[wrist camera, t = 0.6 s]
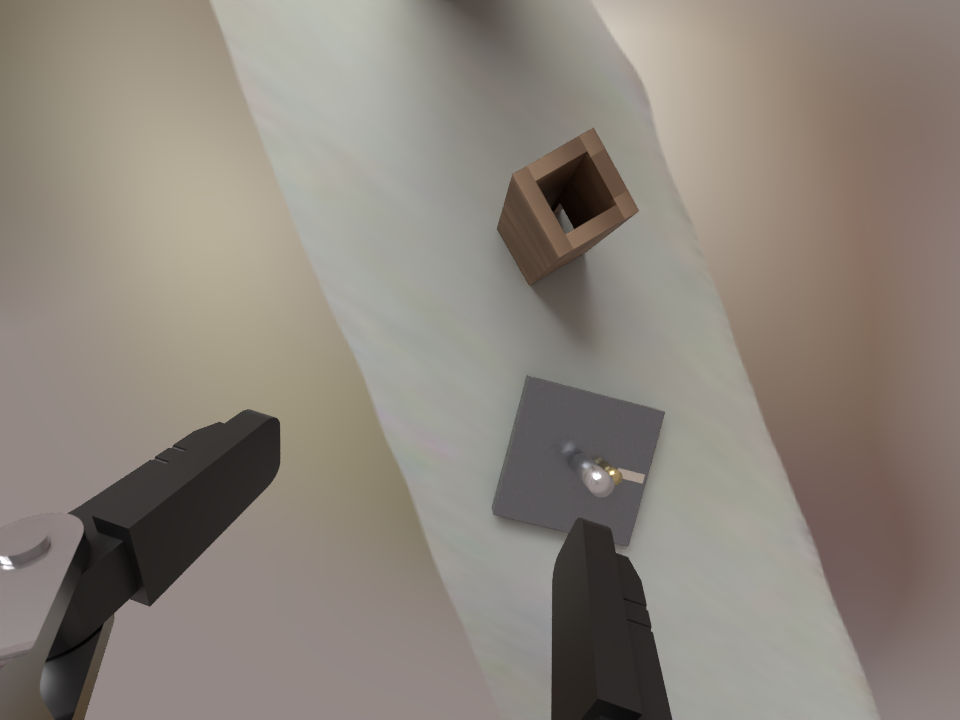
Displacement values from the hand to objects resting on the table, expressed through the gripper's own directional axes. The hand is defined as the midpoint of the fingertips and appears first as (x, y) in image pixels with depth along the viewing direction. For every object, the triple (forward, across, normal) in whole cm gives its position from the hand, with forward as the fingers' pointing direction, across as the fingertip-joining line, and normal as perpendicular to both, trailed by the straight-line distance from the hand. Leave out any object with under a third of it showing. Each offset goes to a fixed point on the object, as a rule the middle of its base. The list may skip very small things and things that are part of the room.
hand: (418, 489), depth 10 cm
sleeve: (+27, -1, -4) cm, 27 cm away
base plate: (+20, -10, +12) cm, 26 cm away
